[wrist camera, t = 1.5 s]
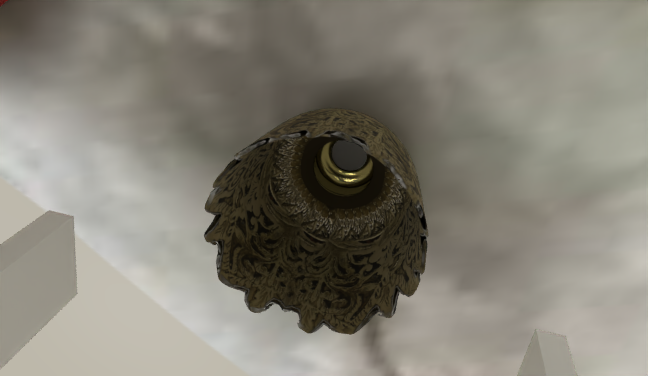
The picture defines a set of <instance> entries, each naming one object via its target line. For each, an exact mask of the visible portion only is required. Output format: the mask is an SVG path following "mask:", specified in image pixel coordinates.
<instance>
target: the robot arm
mask: <svg viewBox="0 0 648 376" xmlns="http://www.w3.org/2000/svg"><path fill="white" fill-rule="evenodd" d="M76 294H77V277H76V257H75V236H74V216H70V215H66V214H62V213H58V212H54V211H50V210H49V211H47V212H46V213H45V214H43V215H42V216H40V217H39V218H37V219H36V220H35V221H33V222H32V223H30V224H29V225H27V226H26V227H25V228H23V229H22V230H21V231H19V232H17V233H16V234H15V235H14V236H12V237H10V238H9V239H8V240H6V241H5V242H3V243H2V244H0V369H1V368H2V367H3V366H4V365H5V364H6V363H7V362H8V361H9V360H10V359H11V358H12V357H13V356H14V355H15V354H16V353H17V352H18V351H19V350H20V349H21V348H23V347H24V346H25V344H27V343H28V342H29V341H30V339H32V338H33V337H34V336H35V335H36V334H37V333H38V332H39V331H40V329H42V328H43V327H44V326H45V325H46V324H47V323H48V322H49V321H50V320H51V319H52V318H53V317H54V316H55V315H56V314H57V313H58V312H59V311H60V310H61V309H62V308H63V307H64V306H65V305H66V304H67V303H68V302H69V301H70V300H71V299H72V298H73V297H74V296H75V295H76ZM517 376H577V372H576V369H575V366H574V362H573V359H572V356H571V352H570V349H569V346H568V342H567V339H566V336H562V335H558V334H554V333H550V332H546V331H542V330H538V329H536V330H535V333H534V335H533V337H532V340H531V342H530V345H529V347H528V350H527V352H526V355H525V357H524V360H523V362H522V365H521V367H520V370H519V372H518V374H517Z"/></svg>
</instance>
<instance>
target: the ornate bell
mask: <svg viewBox="0 0 648 376" xmlns="http://www.w3.org/2000/svg"><path fill="white" fill-rule="evenodd" d="M338 140H345V141H348V142H353V143H356V144H358V145H359V146H361V147H362V148H363V149H364V151H365V152H366V153H367V160H366V162H365V164H364V165H363V167H361V168H360V169H358V170H356V171H344V170H342V169H340V168H339V167H337V166H336V165H335V164H334V162H333V160H332V157H331V150H332V147H333V145H334V144H335V143H336V142H337V141H338ZM234 157H235V158H236V159H234V160H233V161H232V162H230V163H229V164H228V165H227V167H226V168H225V169H224V171H223V172H222V173H221V174H220V175H219V176H218V177H217V179H216V180H215V182H214V184H213V188H215V189H214V190H213V191H212V192H211V194H210V196H209V198H208V200H207V202H206V204H205V210H206V211H207V212H209V213H211V214H213V215H216V216H215V218H214V220H213V222H212V223H211V225H210V226H209V227H208V229H207V230H206V232H205V234H204V237H205V240H206V241H207V242H210V243H211V244H214V245H216V244H217V243H216V241H217V242H218V244H217V246H218V255H217V260H216V264H217V273H218V278H219V280H220V281H221V282H222V283H224V284H225V285H227V286H229V287H231V288H234V289H237V290H241V291H243V292H245V303H246V305H247V307H248V308H249V310H250V311H251V312H254V313H261V312H262V311H266V309H269V306H272V304H273V303H276V304H278V305H279V306H280V307H281V308H282V310H283V311H284V312H287V311H290V310H292V312H293V311H294V312H296V313H298V314H299V319H300V320H299V323H297V324H298V326H299V328H300V329H302V330H303V331H305V332H307V333H313V332H315V331H317V330H318V329H319V328H321V327H322V326H323V325H326V326H327V327H328V328H329V329H331V330H332V331H335V332H338V333H344V334H354V333H356V332H357V331H359V330H360V329H361V328H362V327H363V326H364V325H366V324H367V323H368V322H369V321H370V319H371V318H372V317H373V316H374V315H375V314H376V313H377V312H381V313H382V315H380V314H378V315H380V316H383V317H386V318H391V317H392V316H393V315H394V313H395V310H396V305H397V299H398V296H399V292H400V293H401V294H403V295H406V296H408V297H409V296H411V295H413V294H414V292H415V291H416V290H417V287H418V285H419V282H420V273H421V274H422V273H424V270H425V262H426V251H427V241H426V236H427V237H428V229H427V224H426V219H425V214H424V207H423V201H422V196H421V191H420V186H419V181H418V177H417V174H416V171H415V168H414V165H413V162H412V160H411V158H410V156H409V154H408V152H407V151H406V149H405V148H404V146H403V145H402V143H401V142H400V141H399V139H398V138H397V137H396V136H395V135H394V134H393V133H392V132H391V131H390V130H389V129H388V128H387V127H385V126H384V125H383V124H382V123H380V122H378V121H377V120H375V119H373V118H371V117H369V116H367V115H365V114H362V113H359V112H356V111H352V110H347V109H339V108H329V109H319V110H314V111H309V112H306V113H303V114H300V115H298V116H296V117H294V118H292V119H289V120H287V121H286V122H284V123H282V124H281V125H279V126H277V127H276V128H274V129H273V130H271V131H270V132H268V133H267V134H265V135H264V136H263V137H261V138H260V139H258V140H257V141H255V142H254V143H253V144H251V145H250V146H248V147H246V148H245V149H243V150H241V151H240V152H239V153H237V154H236V155H235V156H234ZM271 302H273V303H272V304H269V303H271ZM268 304H269V305H268ZM266 305H268V306H266ZM265 307H266V308H265ZM264 308H265V309H264Z"/></svg>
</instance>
